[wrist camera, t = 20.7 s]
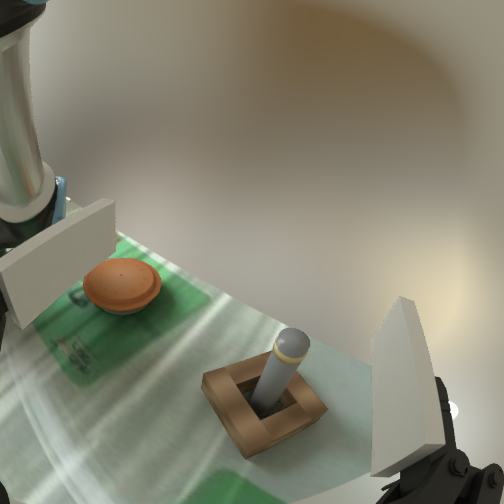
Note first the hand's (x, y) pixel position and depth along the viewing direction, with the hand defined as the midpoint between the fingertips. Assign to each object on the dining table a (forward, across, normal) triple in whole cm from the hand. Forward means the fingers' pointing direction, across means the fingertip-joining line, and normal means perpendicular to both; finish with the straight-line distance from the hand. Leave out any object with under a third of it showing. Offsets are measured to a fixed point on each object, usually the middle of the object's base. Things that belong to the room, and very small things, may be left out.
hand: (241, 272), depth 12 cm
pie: (+24, -25, -32) cm, 47 cm away
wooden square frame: (+13, +6, -31) cm, 34 cm away
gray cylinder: (+13, +6, -31) cm, 34 cm away
